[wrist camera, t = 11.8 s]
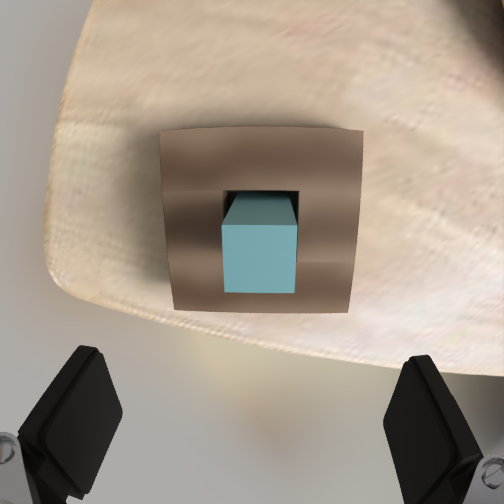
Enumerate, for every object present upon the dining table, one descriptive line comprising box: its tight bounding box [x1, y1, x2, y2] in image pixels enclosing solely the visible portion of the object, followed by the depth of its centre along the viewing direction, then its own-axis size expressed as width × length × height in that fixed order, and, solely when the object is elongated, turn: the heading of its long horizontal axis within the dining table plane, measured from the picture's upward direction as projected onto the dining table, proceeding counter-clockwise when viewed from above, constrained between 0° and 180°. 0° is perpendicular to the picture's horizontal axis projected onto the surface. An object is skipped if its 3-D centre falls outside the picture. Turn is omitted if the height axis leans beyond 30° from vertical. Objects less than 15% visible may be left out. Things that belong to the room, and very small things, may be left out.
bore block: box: [159, 126, 363, 313], centre depth 28 cm, size 16×16×5 cm
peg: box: [222, 191, 297, 293], centre depth 25 cm, size 4×4×11 cm
